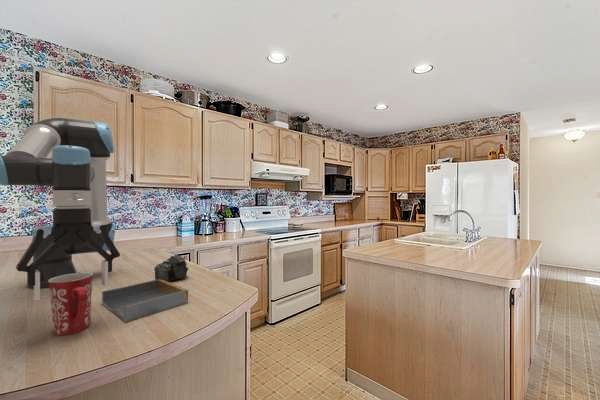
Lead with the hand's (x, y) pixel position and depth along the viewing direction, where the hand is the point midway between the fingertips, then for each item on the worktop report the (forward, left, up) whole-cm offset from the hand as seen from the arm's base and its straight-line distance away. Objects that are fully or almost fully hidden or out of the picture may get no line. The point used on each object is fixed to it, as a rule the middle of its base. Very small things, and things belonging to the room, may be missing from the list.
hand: (73, 291), depth 71 cm
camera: (-23, +37, -10) cm, 45 cm away
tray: (-5, +19, -10) cm, 22 cm away
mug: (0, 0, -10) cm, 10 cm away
